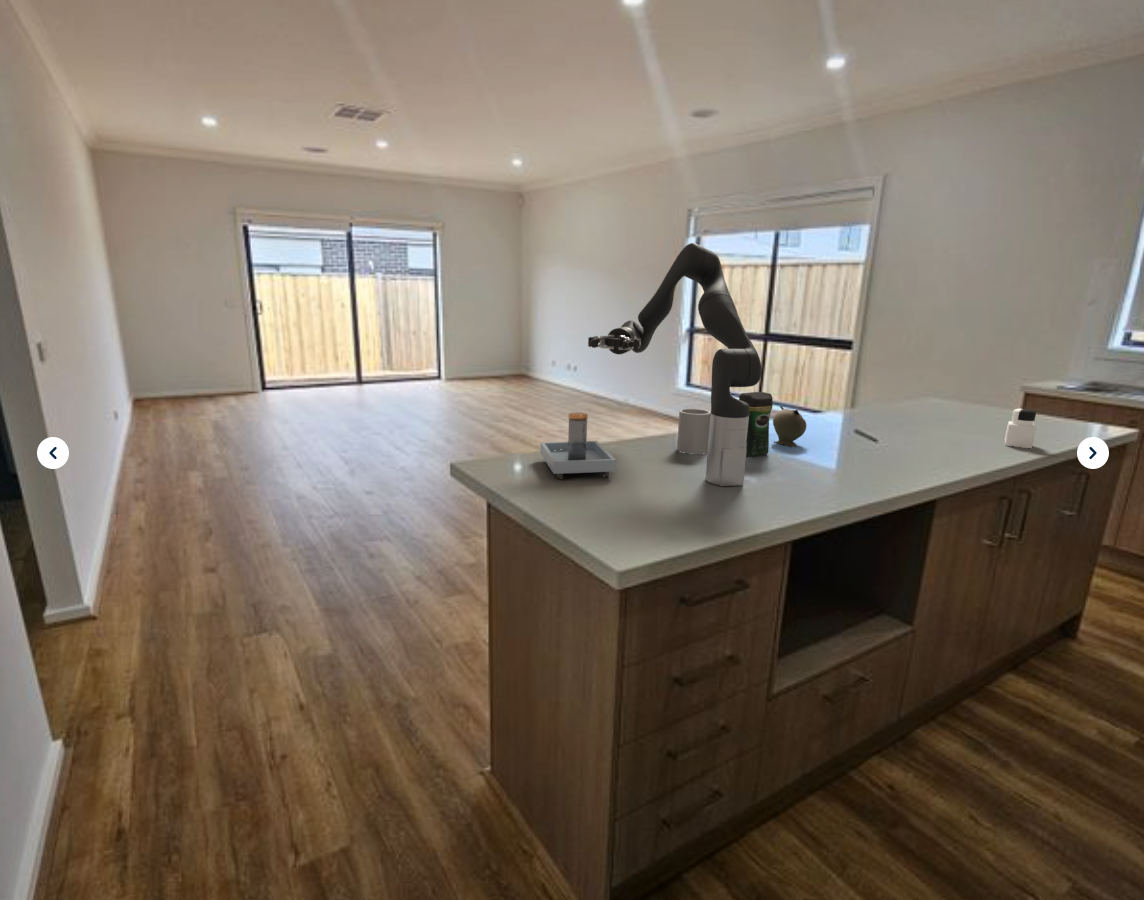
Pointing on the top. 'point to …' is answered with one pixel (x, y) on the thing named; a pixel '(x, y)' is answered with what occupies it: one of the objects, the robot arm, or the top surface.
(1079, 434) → the top surface
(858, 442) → the top surface
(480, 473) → the top surface
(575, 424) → the canister
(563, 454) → the dolly
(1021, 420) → the medicine bottle
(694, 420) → the cup
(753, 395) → the coffee jar
